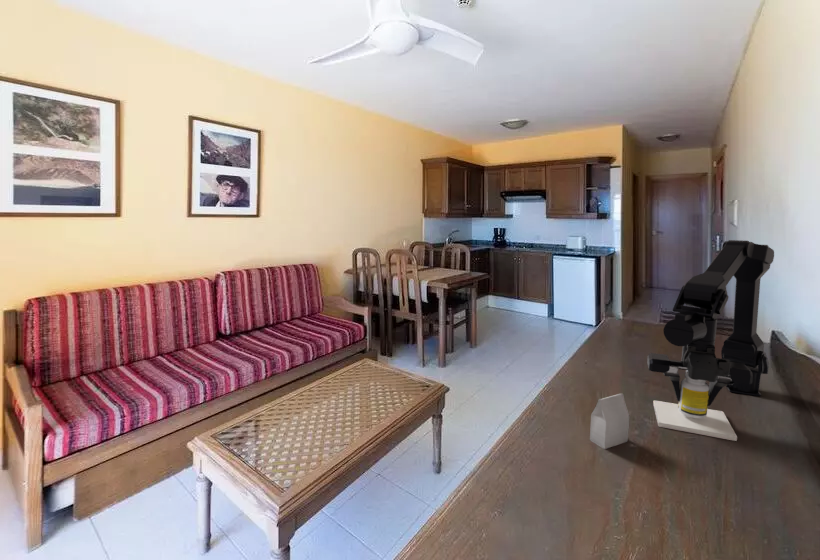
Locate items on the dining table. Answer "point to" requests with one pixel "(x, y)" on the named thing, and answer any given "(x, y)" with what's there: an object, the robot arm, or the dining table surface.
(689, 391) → the supplement bottle
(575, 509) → the dining table surface
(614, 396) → the milk carton
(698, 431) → the ceramic tile
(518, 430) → the dining table surface
